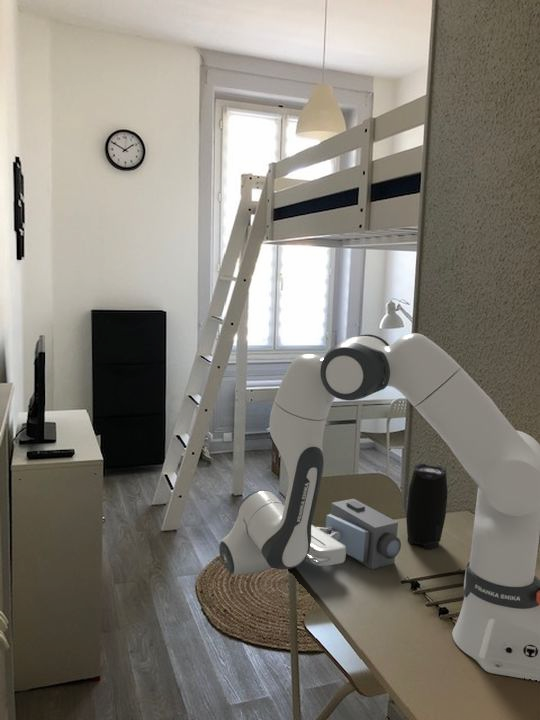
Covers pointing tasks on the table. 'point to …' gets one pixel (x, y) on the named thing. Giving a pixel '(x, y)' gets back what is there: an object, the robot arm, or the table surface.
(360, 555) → the side panel
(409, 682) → the table surface
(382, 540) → the camcorder body
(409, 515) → the portable speaker
